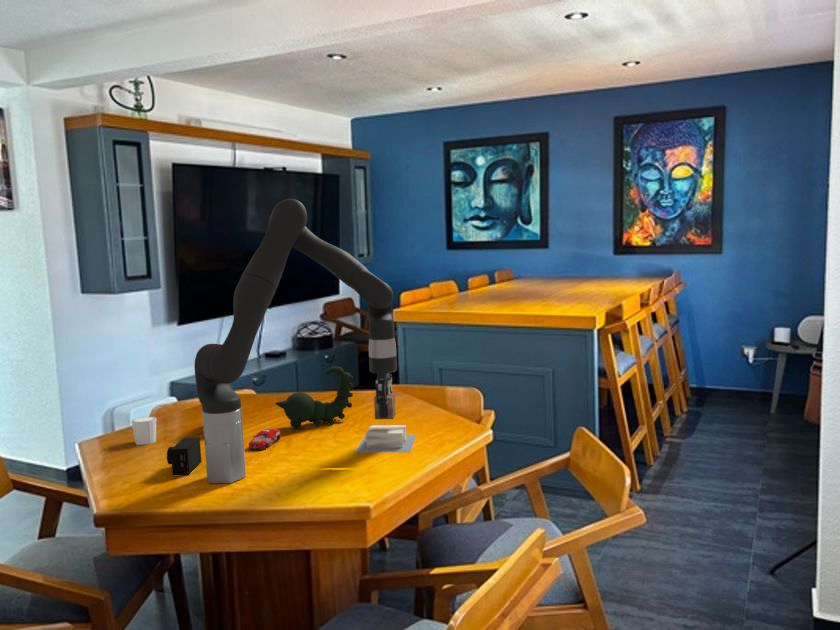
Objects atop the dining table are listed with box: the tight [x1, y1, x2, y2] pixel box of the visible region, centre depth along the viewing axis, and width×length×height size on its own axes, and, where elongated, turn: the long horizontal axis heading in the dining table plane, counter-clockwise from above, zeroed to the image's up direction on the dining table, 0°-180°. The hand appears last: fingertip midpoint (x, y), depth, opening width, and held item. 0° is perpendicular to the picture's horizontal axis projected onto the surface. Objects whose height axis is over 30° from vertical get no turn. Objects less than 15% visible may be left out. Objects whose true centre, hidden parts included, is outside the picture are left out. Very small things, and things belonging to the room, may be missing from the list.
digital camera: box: [166, 436, 202, 476], centre depth 179 cm, size 10×5×7 cm, turn 1°
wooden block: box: [365, 424, 407, 448], centre depth 193 cm, size 8×10×4 cm
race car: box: [248, 428, 281, 451], centre depth 199 cm, size 13×5×4 cm, turn 166°
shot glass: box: [131, 416, 157, 446], centre depth 205 cm, size 7×7×7 cm
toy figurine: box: [275, 365, 354, 430], centre depth 217 cm, size 9×19×25 cm
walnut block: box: [373, 393, 397, 420], centre depth 192 cm, size 5×5×6 cm
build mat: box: [354, 434, 418, 453], centre depth 193 cm, size 16×15×1 cm
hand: (385, 414), depth 193 cm, fingers closed on walnut block, 5 cm apart
